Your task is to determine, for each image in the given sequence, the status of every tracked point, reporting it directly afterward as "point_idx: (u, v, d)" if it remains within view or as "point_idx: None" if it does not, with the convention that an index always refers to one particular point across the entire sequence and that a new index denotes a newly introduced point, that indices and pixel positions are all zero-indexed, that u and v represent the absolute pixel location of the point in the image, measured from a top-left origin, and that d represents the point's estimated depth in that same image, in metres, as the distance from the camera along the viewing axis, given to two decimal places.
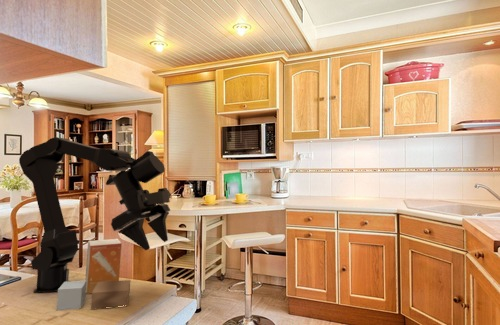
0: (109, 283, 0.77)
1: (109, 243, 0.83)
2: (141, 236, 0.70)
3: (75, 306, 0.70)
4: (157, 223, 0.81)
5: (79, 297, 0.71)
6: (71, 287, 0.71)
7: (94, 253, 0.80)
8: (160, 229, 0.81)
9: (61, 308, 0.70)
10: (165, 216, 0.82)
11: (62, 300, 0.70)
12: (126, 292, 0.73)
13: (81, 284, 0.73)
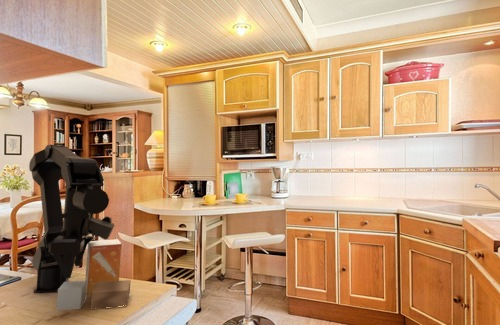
0: (109, 283, 0.77)
1: (109, 243, 0.83)
2: (70, 265, 0.68)
3: (75, 306, 0.70)
4: None
5: (79, 297, 0.71)
6: (71, 287, 0.71)
7: (94, 253, 0.80)
8: None
9: (61, 308, 0.70)
10: None
11: (62, 300, 0.70)
12: (126, 292, 0.73)
13: (81, 284, 0.73)
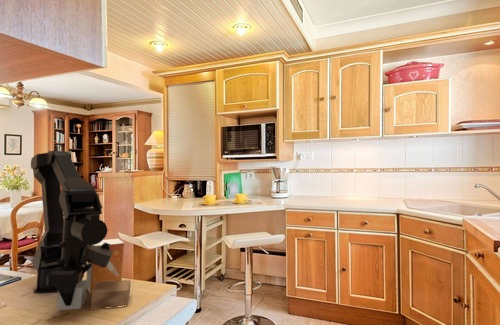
0: (109, 283, 0.77)
1: (112, 243, 0.83)
2: (71, 292, 0.69)
3: (75, 305, 0.71)
4: None
5: (79, 297, 0.71)
6: None
7: None
8: None
9: (61, 307, 0.70)
10: (87, 269, 0.77)
11: None
12: (126, 292, 0.73)
13: (81, 284, 0.73)
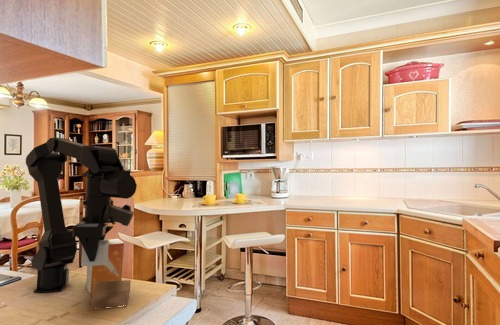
0: (109, 283, 0.77)
1: (112, 243, 0.83)
2: (95, 248, 0.70)
3: (99, 262, 0.72)
4: None
5: (102, 253, 0.72)
6: None
7: None
8: None
9: (85, 263, 0.71)
10: (109, 230, 0.79)
11: None
12: (126, 292, 0.73)
13: (104, 242, 0.74)
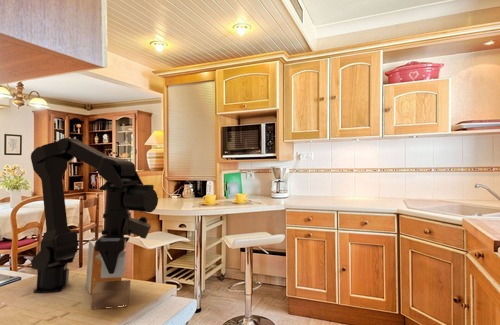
0: (109, 283, 0.77)
1: None
2: (114, 261, 0.72)
3: (118, 274, 0.73)
4: None
5: (121, 265, 0.74)
6: None
7: (97, 253, 0.80)
8: None
9: (105, 275, 0.73)
10: (126, 241, 0.80)
11: (106, 268, 0.73)
12: (126, 292, 0.73)
13: (122, 254, 0.76)
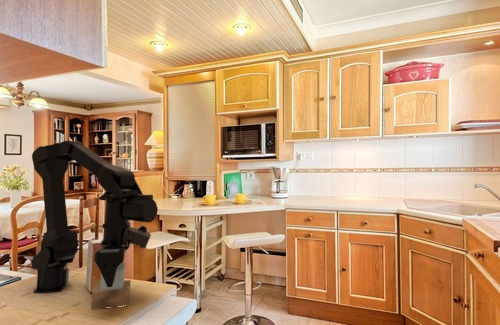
0: None
1: None
2: (113, 274, 0.70)
3: (117, 286, 0.73)
4: None
5: (121, 278, 0.74)
6: None
7: None
8: None
9: (104, 288, 0.72)
10: (126, 249, 0.82)
11: None
12: (126, 292, 0.73)
13: (122, 266, 0.76)
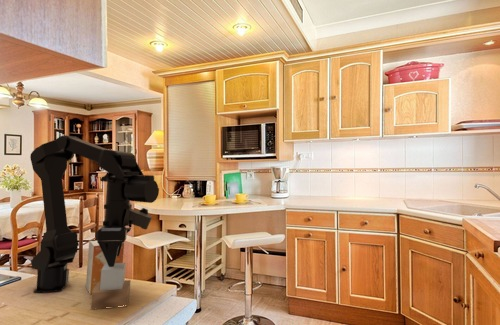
0: None
1: None
2: (114, 253, 0.70)
3: (117, 286, 0.73)
4: None
5: (121, 278, 0.74)
6: (113, 268, 0.74)
7: (98, 253, 0.80)
8: None
9: (104, 288, 0.72)
10: None
11: (105, 280, 0.73)
12: (126, 292, 0.73)
13: (122, 266, 0.76)
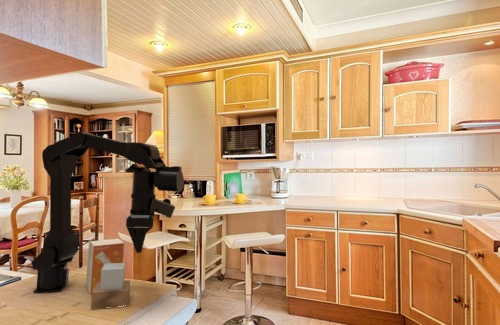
0: None
1: (112, 243, 0.83)
2: (142, 240, 0.74)
3: (117, 286, 0.73)
4: None
5: (121, 278, 0.74)
6: (113, 268, 0.74)
7: (97, 253, 0.80)
8: None
9: (104, 288, 0.72)
10: None
11: (105, 280, 0.73)
12: (126, 292, 0.73)
13: (122, 266, 0.76)
